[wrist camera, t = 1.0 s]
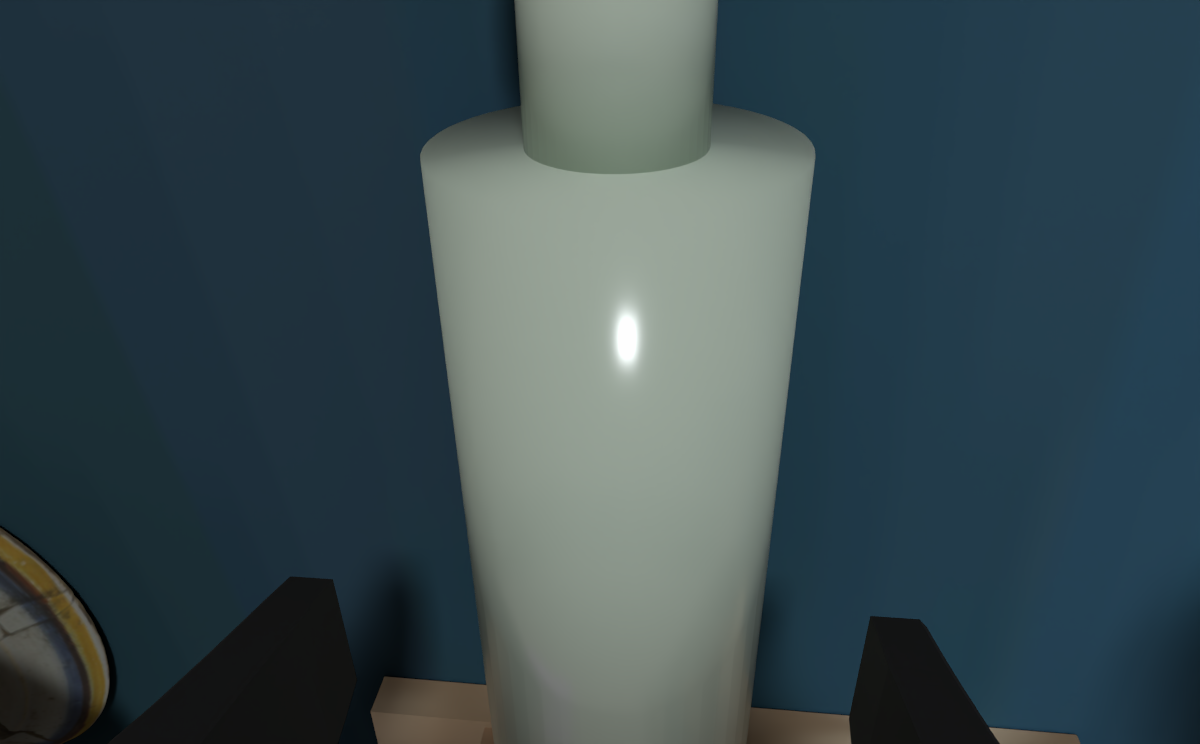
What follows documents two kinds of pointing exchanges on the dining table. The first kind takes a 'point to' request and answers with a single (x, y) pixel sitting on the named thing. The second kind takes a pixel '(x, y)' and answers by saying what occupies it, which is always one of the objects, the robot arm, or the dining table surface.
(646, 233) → the bottle
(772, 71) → the dining table surface
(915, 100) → the dining table surface
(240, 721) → the robot arm
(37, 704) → the apothecary jar
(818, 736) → the bottle rest
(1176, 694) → the dining table surface
